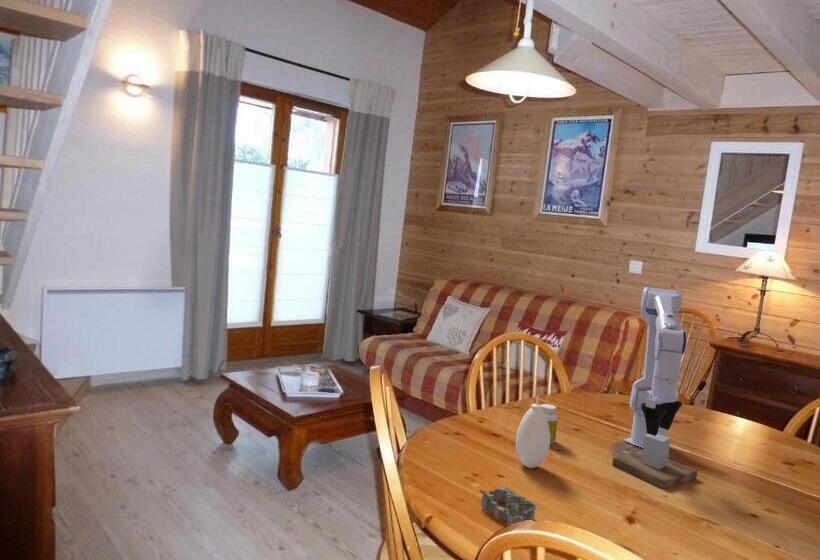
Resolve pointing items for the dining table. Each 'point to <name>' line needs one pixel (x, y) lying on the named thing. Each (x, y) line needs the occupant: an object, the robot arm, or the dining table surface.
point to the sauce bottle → (533, 437)
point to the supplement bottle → (551, 420)
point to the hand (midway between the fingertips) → (658, 431)
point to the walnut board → (655, 471)
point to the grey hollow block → (508, 505)
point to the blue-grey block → (655, 450)
